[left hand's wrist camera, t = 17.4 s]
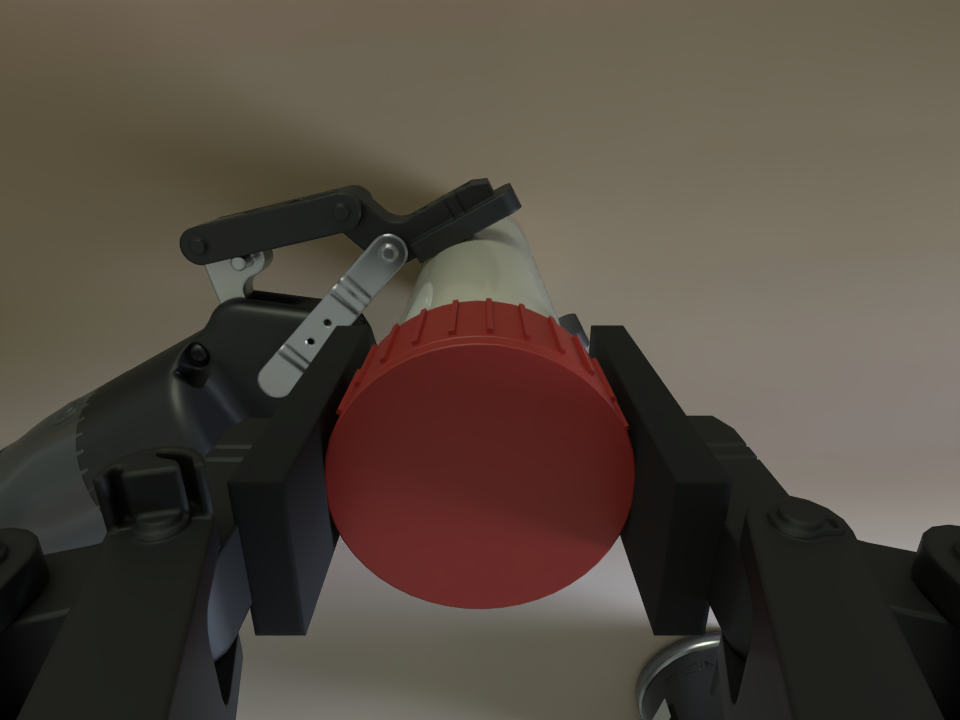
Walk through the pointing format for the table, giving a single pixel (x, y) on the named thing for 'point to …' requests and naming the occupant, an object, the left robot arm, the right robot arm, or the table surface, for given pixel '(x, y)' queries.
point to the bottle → (482, 273)
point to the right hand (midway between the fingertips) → (548, 265)
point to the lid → (479, 458)
